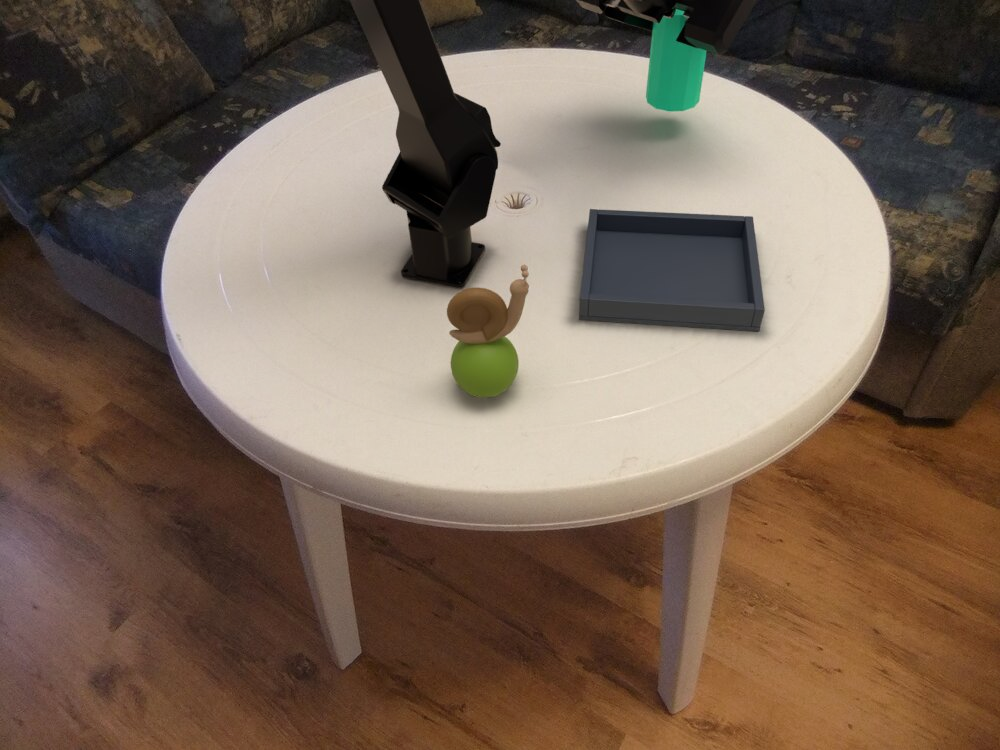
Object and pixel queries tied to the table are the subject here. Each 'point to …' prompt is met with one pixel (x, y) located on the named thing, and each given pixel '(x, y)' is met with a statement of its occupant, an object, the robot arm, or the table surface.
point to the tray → (671, 270)
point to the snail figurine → (485, 338)
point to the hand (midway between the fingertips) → (687, 37)
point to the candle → (673, 67)
